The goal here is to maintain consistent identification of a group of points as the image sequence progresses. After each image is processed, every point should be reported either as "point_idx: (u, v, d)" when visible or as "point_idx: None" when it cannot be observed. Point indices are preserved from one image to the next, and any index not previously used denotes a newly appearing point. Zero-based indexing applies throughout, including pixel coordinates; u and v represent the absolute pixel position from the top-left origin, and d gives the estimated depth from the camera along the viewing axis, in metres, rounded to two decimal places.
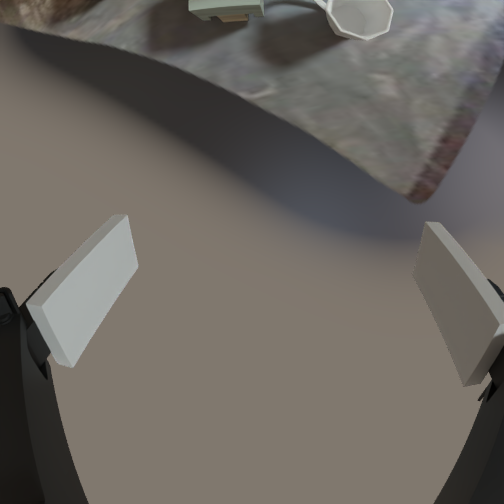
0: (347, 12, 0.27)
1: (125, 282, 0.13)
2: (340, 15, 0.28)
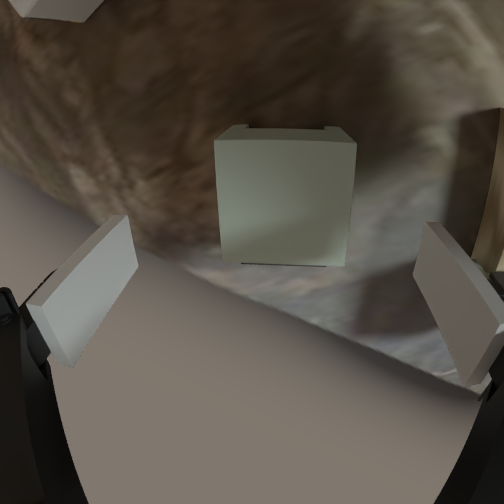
0: None
1: (125, 282, 0.13)
2: None
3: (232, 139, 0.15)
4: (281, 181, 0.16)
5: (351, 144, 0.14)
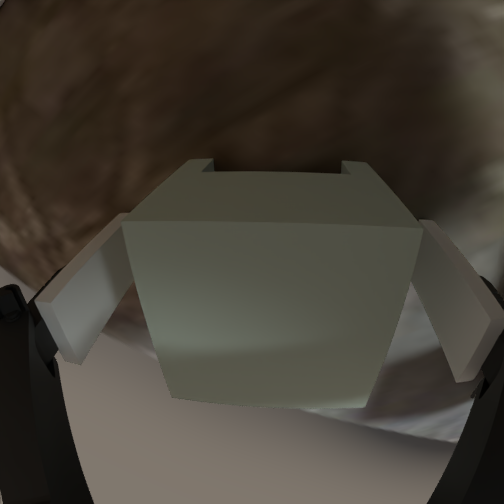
0: None
1: (132, 280, 0.13)
2: None
3: (157, 218, 0.07)
4: (262, 301, 0.08)
5: (412, 230, 0.06)
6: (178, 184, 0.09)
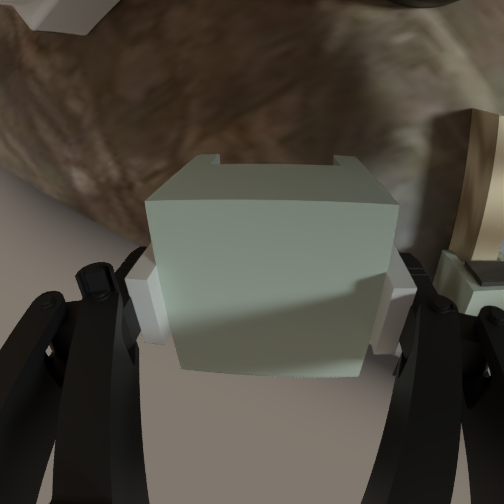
0: None
1: None
2: None
3: (176, 198, 0.09)
4: (264, 270, 0.09)
5: (390, 206, 0.08)
6: (191, 173, 0.11)
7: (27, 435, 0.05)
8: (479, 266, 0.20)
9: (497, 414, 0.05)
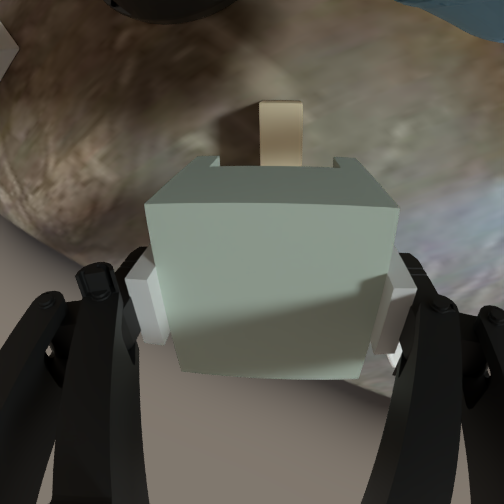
0: None
1: None
2: None
3: (176, 201, 0.09)
4: (264, 273, 0.09)
5: (390, 209, 0.08)
6: (190, 176, 0.11)
7: (27, 435, 0.05)
8: None
9: (497, 414, 0.05)
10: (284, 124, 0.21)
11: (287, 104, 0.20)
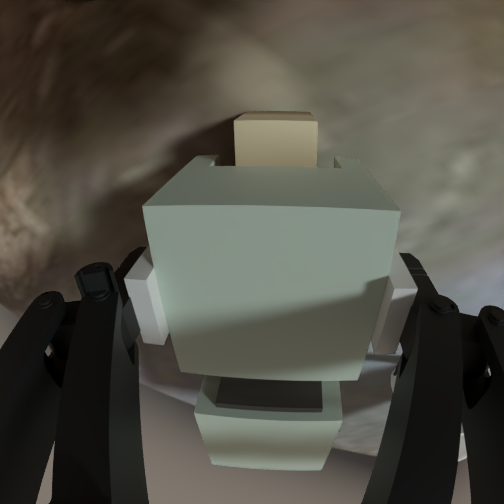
0: None
1: None
2: None
3: (174, 203, 0.08)
4: (263, 275, 0.09)
5: (391, 212, 0.08)
6: (189, 176, 0.11)
7: (27, 435, 0.05)
8: None
9: (497, 414, 0.05)
10: (282, 161, 0.11)
11: (288, 123, 0.11)
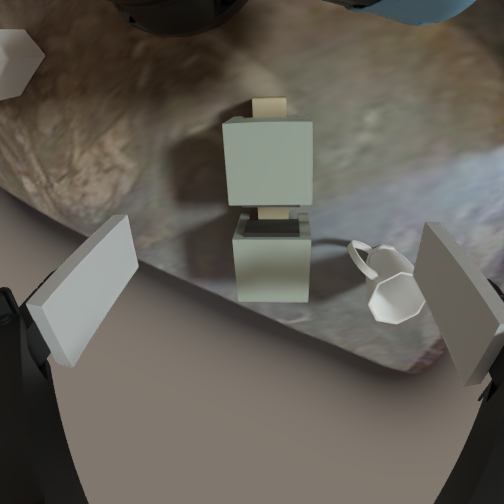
0: None
1: (125, 282, 0.13)
2: None
3: (234, 123, 0.24)
4: (265, 148, 0.24)
5: (308, 122, 0.23)
6: (235, 119, 0.26)
7: None
8: (257, 222, 0.30)
9: None
10: (272, 115, 0.26)
11: (274, 99, 0.26)
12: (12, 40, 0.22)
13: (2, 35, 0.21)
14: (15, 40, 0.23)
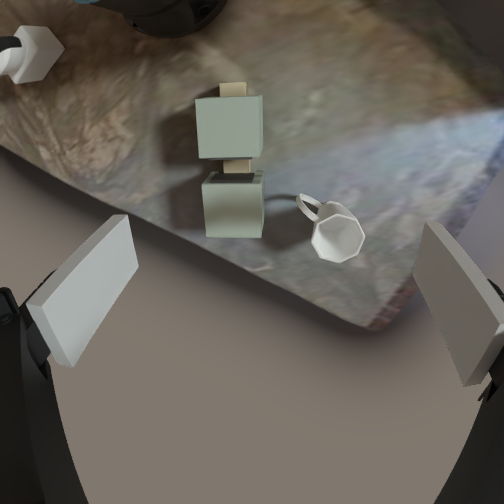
0: None
1: (125, 282, 0.13)
2: None
3: (203, 98, 0.32)
4: (225, 115, 0.33)
5: (255, 96, 0.31)
6: None
7: None
8: (221, 174, 0.39)
9: None
10: (234, 94, 0.35)
11: (235, 83, 0.34)
12: (39, 35, 0.30)
13: (31, 30, 0.29)
14: (41, 35, 0.31)
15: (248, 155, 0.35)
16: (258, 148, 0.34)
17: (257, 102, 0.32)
